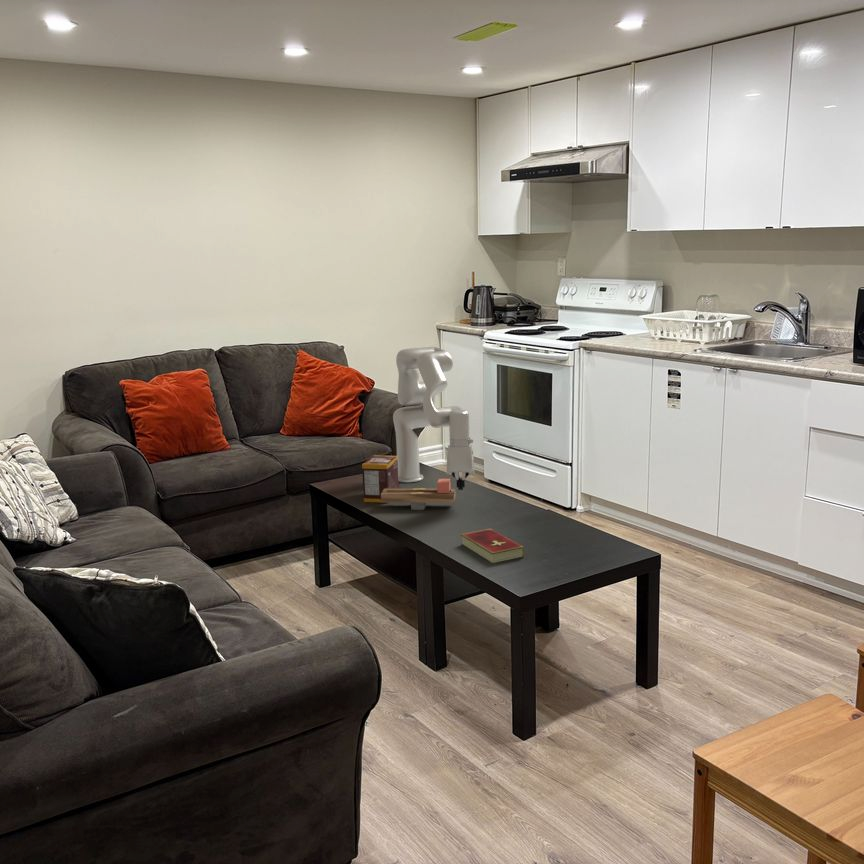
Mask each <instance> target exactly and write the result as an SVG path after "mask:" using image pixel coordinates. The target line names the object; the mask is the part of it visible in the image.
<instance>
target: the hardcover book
mask: <svg viewBox="0 0 864 864" xmlns="http://www.w3.org/2000/svg"><path fill="white" fill-rule="evenodd" d="M460 536H461V538H462V545H463V546H465V547H466V548H468V549H469V550H471V551H473V552H474V553H476V554H477V555H479V556H481V557H482V558H484V559H486V561H489V562H490V563H492V564H495V563H499V562H503V561H509V560H513V559H519V558H525V548H524V546H523V545H521V544H519V543H518V542H515V541H514V540H512V539H511V538H508V537H507V536H505V535H503V534H501V533H499V532H498V531H496V530H494V529H493V528H486V529H481V530H475V531H471V532H465V533H461V534H460Z"/></svg>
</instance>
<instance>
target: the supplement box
mask: <svg viewBox="0 0 864 864" xmlns="http://www.w3.org/2000/svg"><path fill="white" fill-rule="evenodd" d="M361 468H362V469H361V470H362V491H363V502H364V503H382V504H388V503H390V502H381V493H382V491H383V490H384V488H399V483H400V482H398V459H397V455H381V454H380V455H377V454H376V455H375V454H373V455H372V456H371V457H370V458H368V459H367V460H366V461H365V462H364V463H362V465H361Z"/></svg>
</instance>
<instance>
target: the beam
mask: <svg viewBox="0 0 864 864" xmlns="http://www.w3.org/2000/svg"><path fill="white" fill-rule="evenodd" d="M456 492H457V491H456V488H451V489H450V492H449V493H437V488H426V487H420V488H419V487H413V488H402V487H401V488H384V490H383V491H382V493H381V502H389V503H407V504H408V503H410V510H411V511H412V510H413V511H415V510H417V511H425V509H426V506H427V503H428V504H429V503H430V504H432V503H433V504H441V503H443V504H451V503H452V504H453V503H455V500H456Z"/></svg>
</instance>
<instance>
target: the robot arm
mask: <svg viewBox="0 0 864 864" xmlns="http://www.w3.org/2000/svg"><path fill="white" fill-rule="evenodd" d="M395 358H396V360H395V362H396V367H397V373H398V383H397V400H398V402H399V404H400V405H402V406H404V407H400V408H397V409H396V410H395V411H394V412H393V415H392V420H393V427H394V431H395V440H396V441H395V442H396V444H395V445H396V456H397V459H398V483H416V482H419V481H422V480H423V479H424V475H423V474H421V473H420V454H419V453H420V450H419V449H420V447H419V437H418V435H417V434H416V433H415V431H413V430H414V429H420V428H427V427H430V426H431V428H435V429H438V428H447V427H449V428H448V429H449V445H448V446H447V452H446V475H448V476H452V477H453V478H454V479H455V481H456V488H458V491H463V490H464V488H465V487H466V485H465V484H466V483H465V482H466V479H467V478H468V477H469V476H472V475H475V469H474V467H475V463H474V461H475V460H474V450H473V446H472V445H471V444H474V439H471V438H470V413H469V412H468V411H467V410H465V409H463V408H462V407H461V406H459V405H452V406H443V407H436V408H435V401H436V400H435V399H436V396H437V395H439V394H440V393H441V394H442V392H443V391H445V390H446V389H447V387H448V380H447V378H446V376H445V373H446V372H449V371H451V370H452V369H453V366H454V362H453V357H452V355H451V353H450V352H448V351H447V350H446V349H442V348H439V347H437V346H424V347H411V348H405V349H403V348H402V349H400V350H399V351H398V352H397V354H396V357H395ZM419 374H420V375H419ZM420 376H421V379H422V380H423V381H420V380H419V378H420ZM459 473H461V477H460V474H459Z"/></svg>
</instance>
